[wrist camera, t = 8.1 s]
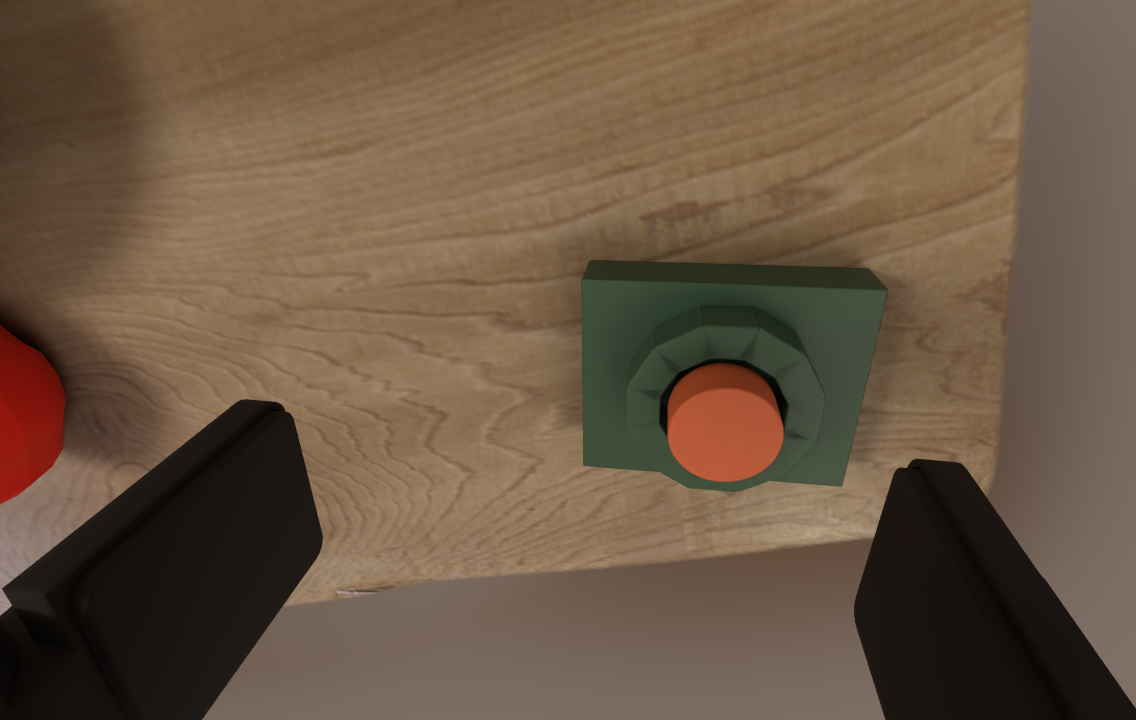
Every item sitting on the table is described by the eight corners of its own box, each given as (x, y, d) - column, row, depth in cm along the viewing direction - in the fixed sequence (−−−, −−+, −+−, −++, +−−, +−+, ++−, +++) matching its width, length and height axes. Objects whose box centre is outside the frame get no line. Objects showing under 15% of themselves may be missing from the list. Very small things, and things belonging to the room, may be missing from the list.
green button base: (869, 268, 21) (908, 310, 18) (829, 453, 25) (854, 519, 21) (589, 259, 23) (573, 297, 19) (589, 436, 26) (576, 495, 23)
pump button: (782, 365, 19) (792, 391, 18) (768, 455, 21) (775, 487, 20) (670, 359, 20) (670, 384, 18) (665, 447, 22) (664, 478, 20)
